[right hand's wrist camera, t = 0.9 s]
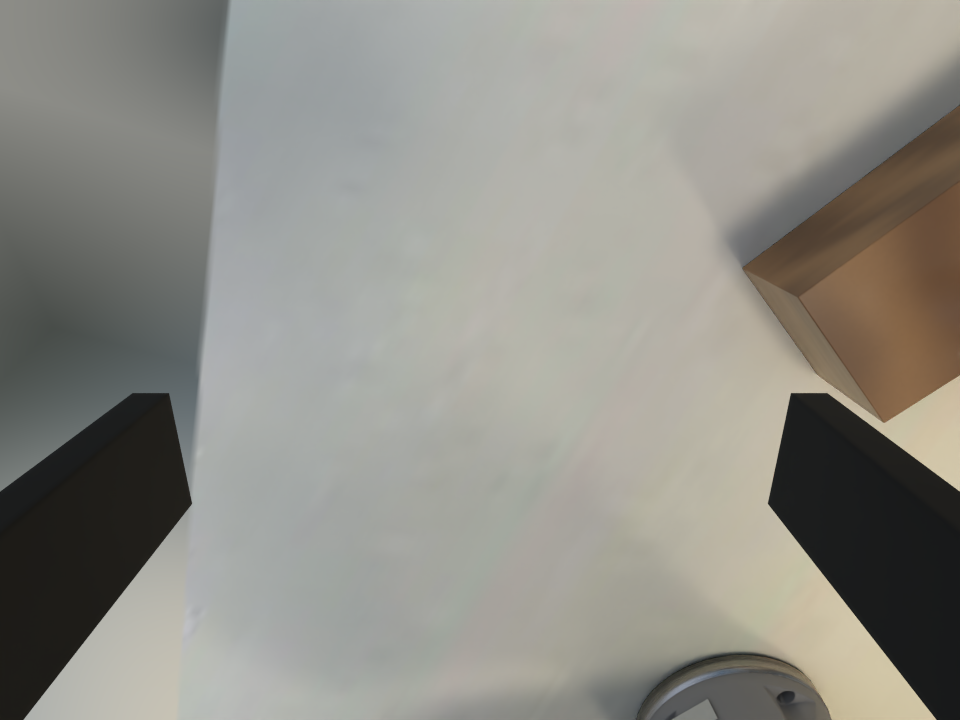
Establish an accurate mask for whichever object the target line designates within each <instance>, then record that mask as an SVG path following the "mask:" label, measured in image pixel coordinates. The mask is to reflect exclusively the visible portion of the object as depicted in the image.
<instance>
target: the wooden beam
mask: <svg viewBox="0 0 960 720" xmlns="http://www.w3.org/2000/svg"><path fill="white" fill-rule="evenodd" d="M743 270H744V272H745V273H746V274H747V276H748V277H749V279H750V280H751V281H752V283H753V284H754V286H755V287H756V288H757V290H758V291H759V293H760V294H761V296H762V297H763V298H764V300H765V301H766V303H767V304H768V305H769V307H770V308H771V310H772V311H773V312H774V314H775V315H776V317H777V318H778V320H779V321H780V322H781V324H782V325H783V327H784V328H785V329H786V331H787V332H788V334H789V335H790V336H791V338H792V339H793V341H794V342H795V344H796V345H797V346H798V348H799V349H800V351H801V352H802V353H803V355H804V356H805V358H806V359H807V360H808V362H809V363H810V365H811V366H812V368H813V369H814V370H815V372H816V373H817V375H818V376H820V377H821V378H822V379H824V380H825V381H826V382H828V383H829V384H831V385H832V386H833V387H835V388H836V389H838V390H839V391H840V392H842V393H843V394H844V395H846V396H847V397H849V398H850V399H851V400H853V401H854V402H856V403H857V404H858V405H860V406H861V407H862V408H864V409H865V410H867V411H868V412H869V413H871V414H872V415H874V416H875V417H876V418H878V419H879V420H880V421H882V422H883V423H885V422H887V421H888V420H890V419H891V418H893V417H894V416H896V415H898V414H899V413H901V412H902V411H904V410H906V409H907V408H909V407H910V406H912V405H913V404H915V403H917V402H918V401H920V400H921V399H923V398H925V397H926V396H928V395H929V394H931V393H932V392H934V391H936V390H937V389H939V388H940V387H942V386H943V385H945V384H947V383H948V382H950V381H951V380H953V379H955V378H956V377H958V376H959V375H960V105H959V106H958V107H957V108H955V109H954V110H953V111H951V112H950V113H949V114H947V115H946V116H945V117H943V118H942V119H941V120H939V121H938V122H937V123H935V124H934V125H933V126H931V127H930V128H929V129H927V130H926V131H925V132H923V133H922V134H921V135H919V136H918V137H917V138H915V139H914V140H913V141H911V142H910V143H909V144H907V145H906V146H905V147H903V148H902V149H901V150H899V151H898V152H897V153H895V154H894V155H893V156H891V157H890V158H889V159H887V160H886V161H885V162H883V163H882V164H881V165H879V166H878V167H877V168H875V169H874V170H873V171H871V172H870V173H869V174H867V175H866V176H865V177H863V178H862V179H861V180H859V181H858V182H857V183H855V184H854V185H853V186H851V187H850V188H849V189H847V190H846V191H845V192H843V193H842V194H841V195H839V196H838V197H837V198H835V199H834V200H833V201H831V202H830V203H829V204H827V205H826V206H825V207H823V208H822V209H821V210H819V211H818V212H817V213H815V214H814V215H813V216H811V217H810V218H808V219H807V220H806V221H804V222H803V223H802V224H800V225H799V226H798V227H796V228H795V229H794V230H792V231H791V232H790V233H788V234H787V235H786V236H784V237H783V238H782V239H780V240H779V241H778V242H776V243H775V244H774V245H772V246H771V247H770V248H768V249H767V250H766V251H764V252H763V253H762V254H760V255H759V256H758V257H756V258H755V259H754V260H752V261H751V262H750V263H748V264H747V265H746V266H744V267H743Z"/></svg>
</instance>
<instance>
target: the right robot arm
mask: <svg viewBox="0 0 960 720" xmlns="http://www.w3.org/2000/svg"><path fill="white" fill-rule="evenodd" d="M191 504H192V501H191V496H190V492H189V487H188V482H187V477H186V473H185V468H184V463H183V458H182V453H181V449H180V444H179V439H178V434H177V430H176V425H175V420H174V415H173V411H172V406H171V401H170V396H169V393H132V394H131V395H130V396H128V397H127V398H126V399H124V400H123V401H122V402H120V403H119V404H118V405H116V406H115V407H114V408H112V409H111V410H109V411H108V412H107V413H105V414H104V415H103V416H102V417H100V418H99V419H97V420H96V421H95V422H93V423H92V424H91V425H89V426H88V427H87V428H85V429H84V430H83V431H81V432H80V433H79V434H77V435H76V436H75V437H73V438H72V439H70V440H69V441H68V442H66V443H65V444H64V445H62V446H61V447H60V448H58V449H57V450H56V451H54V452H53V453H52V454H50V455H49V456H48V457H46V458H45V459H44V460H42V461H41V462H40V463H38V464H37V465H36V466H34V467H33V468H31V469H30V470H29V471H27V472H26V473H25V474H23V475H22V476H21V477H19V478H18V479H17V480H15V481H14V482H13V483H11V484H10V485H9V486H7V487H6V488H5V489H3V490H2V491H1V492H0V720H24V718H25V717H26V716H27V714H28V713H29V712H30V711H31V709H32V708H33V707H34V705H35V704H36V703H37V702H38V700H39V699H40V698H41V696H42V695H43V694H44V693H45V691H46V690H47V689H48V688H49V686H50V685H51V684H52V682H53V681H54V680H55V679H56V677H57V676H58V675H59V673H60V672H61V671H62V670H63V668H64V667H65V666H66V664H67V663H68V662H69V661H70V659H71V658H72V657H73V655H74V654H75V653H76V652H77V650H78V649H79V648H80V647H81V645H82V644H83V643H84V641H85V640H86V639H87V637H88V636H89V635H90V634H91V632H92V631H93V630H94V629H95V627H96V626H97V625H98V623H99V622H100V621H101V620H102V618H103V617H104V616H105V615H106V613H107V612H108V611H109V609H110V608H111V607H112V606H113V604H114V603H115V602H116V600H117V599H118V598H119V597H120V595H121V594H122V593H123V591H124V590H125V589H126V588H127V586H128V585H129V584H130V582H131V581H132V580H133V579H134V577H135V576H136V575H137V574H138V572H139V571H140V570H141V568H142V567H143V566H144V565H145V563H146V562H147V561H148V559H149V558H150V557H151V556H152V554H153V553H154V552H155V550H156V549H157V548H158V547H159V545H160V544H161V543H162V542H163V540H164V539H165V538H166V536H167V535H168V534H169V533H170V531H171V530H172V529H173V527H174V526H175V525H176V524H177V522H178V521H179V520H180V518H181V517H182V516H183V515H184V513H185V512H186V511H187V510H188V508H189V507H190V506H191ZM768 504H769V506H770V507H771V508H772V510H773V511H774V512H775V513H776V515H777V516H778V517H779V519H780V520H781V521H782V522H783V524H784V525H785V526H786V527H787V529H788V530H789V531H790V533H791V534H792V535H793V536H794V538H795V539H796V540H797V542H798V543H799V544H800V545H801V547H802V548H803V549H804V551H805V552H806V553H807V554H808V556H809V557H810V558H811V559H812V561H813V562H814V563H815V565H816V566H817V567H818V568H819V570H820V571H821V572H822V574H823V575H824V576H825V577H826V579H827V580H828V581H829V583H830V584H831V585H832V586H833V588H834V589H835V590H836V591H837V593H838V594H839V595H840V597H841V598H842V599H843V600H844V602H845V603H846V604H847V606H848V607H849V608H850V609H851V611H852V612H853V613H854V615H855V616H856V617H857V618H858V620H859V621H860V622H861V624H862V625H863V626H864V627H865V629H866V630H867V631H868V632H869V634H870V635H871V636H872V638H873V639H874V640H875V641H876V643H877V644H878V645H879V647H880V648H881V649H882V650H883V652H884V653H885V654H886V656H887V657H888V658H889V659H890V661H891V662H892V663H893V664H894V666H895V667H896V668H897V670H898V671H899V672H900V673H901V675H902V676H903V677H904V679H905V680H906V681H907V682H908V684H909V685H910V686H911V688H912V689H913V690H914V691H915V693H916V694H917V695H918V696H919V698H920V699H921V700H922V702H923V703H924V704H925V705H926V707H927V708H928V709H929V711H930V712H931V713H932V714H933V716H934V717H935V718H936V720H960V492H959V491H958V490H957V489H955V488H954V487H953V486H951V485H950V484H949V483H947V482H946V481H945V480H943V479H942V478H941V477H939V476H938V475H937V474H935V473H934V472H933V471H931V470H930V469H929V468H927V467H926V466H924V465H923V464H922V463H920V462H919V461H918V460H916V459H915V458H914V457H912V456H911V455H910V454H908V453H907V452H906V451H904V450H903V449H902V448H900V447H899V446H898V445H896V444H895V443H894V442H892V441H891V440H890V439H888V438H887V437H885V436H884V435H883V434H881V433H880V432H879V431H877V430H876V429H875V428H873V427H872V426H871V425H869V424H868V423H867V422H865V421H864V420H863V419H861V418H860V417H859V416H857V415H856V414H855V413H853V412H852V411H851V410H849V409H848V408H846V407H845V406H844V405H842V404H841V403H840V402H838V401H837V400H836V399H834V398H833V397H832V396H830V395H829V394H828V393H791V396H790V401H789V406H788V410H787V415H786V420H785V425H784V429H783V434H782V439H781V444H780V449H779V453H778V458H777V463H776V468H775V472H774V477H773V482H772V487H771V492H770V496H769V501H768ZM637 720H831V717H830V714H829V711H828V709H827V707H826V705H825V703H824V702H823V700H822V698H821V697H820V695H819V693H818V692H817V690H816V688H815V687H814V685H813V684H812V683H811V681H810V680H809V679H808V678H807V677H806V676H805V675H804V674H803V673H801V672H800V671H799V670H797V669H795V668H794V667H792V666H790V665H788V664H786V663H783V662H781V661H778V660H775V659H771V658H767V657H761V656H753V655H732V656H723V657H718V658H713V659H709V660H705V661H702V662H699V663H696V664H693V665H691V666H688V667H686V668H684V669H682V670H680V671H678V672H676V673H675V674H673V675H671V676H670V677H668V678H667V679H666V680H664V681H663V682H662V683H660V684H659V685H658V686H657V687H656V688H655V689H654V690H653V691H652V692H651V693H650V694H649V696H648V697H647V698H646V700H645V701H644V703H643V704H642V706H641V708H640V710H639V713H638V716H637Z"/></svg>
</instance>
